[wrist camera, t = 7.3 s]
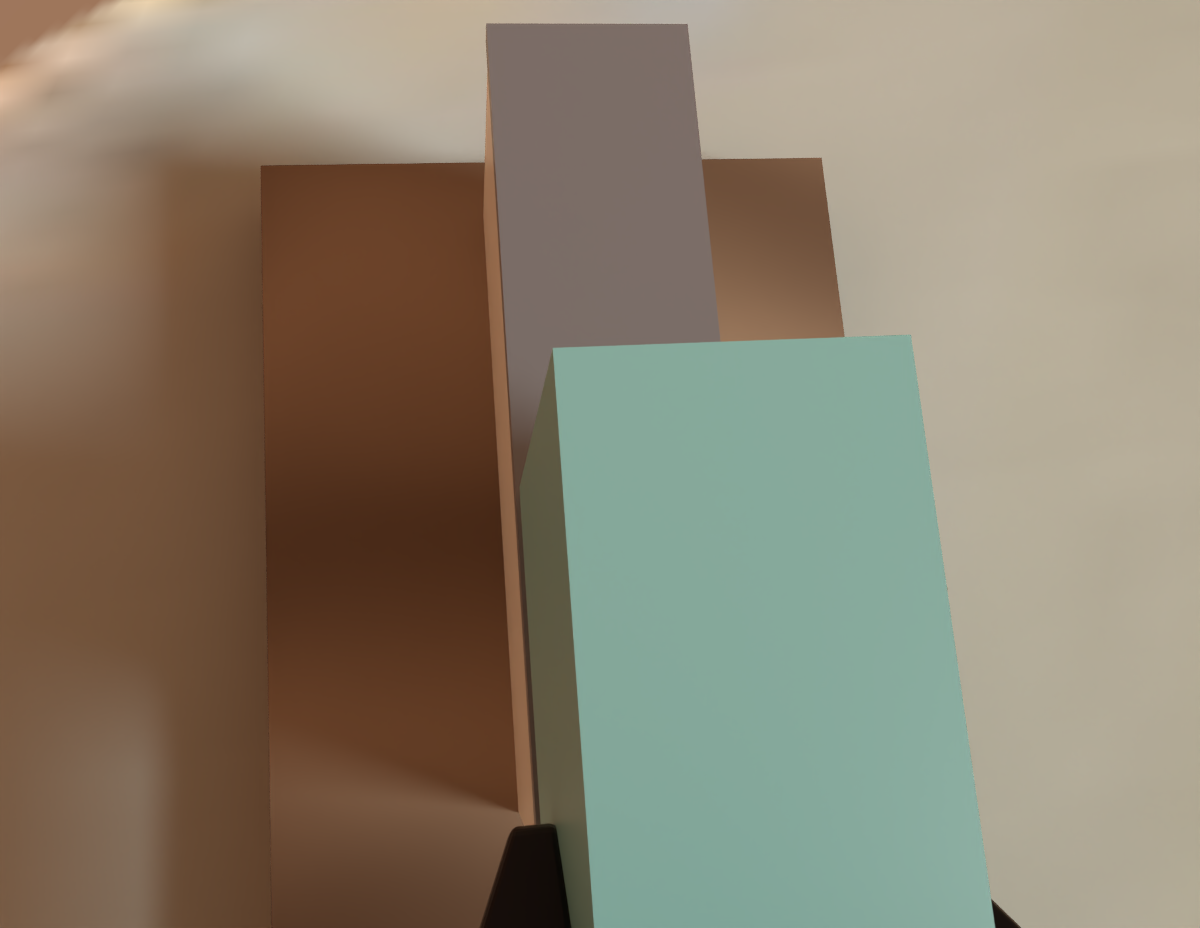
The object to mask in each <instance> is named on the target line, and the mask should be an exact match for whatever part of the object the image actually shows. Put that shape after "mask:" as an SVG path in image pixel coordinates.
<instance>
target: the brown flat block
mask: <svg viewBox="0 0 1200 928" xmlns="http://www.w3.org/2000/svg"><path fill="white" fill-rule="evenodd" d="M702 168H703V178H704V187H705V197H706V206H707V216H708V225H709V235H710V245H711V254H712V264H713V273H714V283H715V292H716V302H717V312H718V321H719V331H720V340H721V342H727V341H754V340H781V339H809V338H836V337H844V329H843V322H842V314H841V306H840V298H839V291H838V283H837V275H836V267H835V260H834V252H833V244H832V236H831V229H830V221H829V213H828V205H827V198H826V190H825V182H824V174H823V167H822V159H821V158H781V159H708V160H702ZM484 173H485V163H419V164H347V165H274V166H261V214H262V285H263V355H264V425H265V495H266V565H267V635H268V705H269V775H270V845H271V916H272V928H479V927H480V924H481V921H482V918H483V915H484V912H485V908H486V905H487V902H488V899H489V896H490V893H491V889H492V886H493V883H494V880H495V877H496V874H497V870H498V867H499V864H500V861H501V858H502V855H503V851H504V848H505V845H506V842H507V839H508V836H509V834H510V832H511V831H512V829H514V828H515V827H517V826H524V824H523V822H522V819H521V817H520V815H519V811H518V794H517V777H516V760H515V743H514V726H513V709H512V693H511V676H510V659H509V642H508V625H507V608H506V591H505V574H504V557H503V540H502V524H501V507H500V490H499V473H498V456H497V439H496V422H495V405H494V388H493V371H492V354H491V338H490V321H489V304H488V287H487V270H486V253H485V236H484V219H483V207H484Z"/></svg>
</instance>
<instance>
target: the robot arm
mask: <svg viewBox="0 0 1200 928" xmlns="http://www.w3.org/2000/svg"><path fill="white" fill-rule="evenodd" d="M991 902H992V909H993V916H994V923H995V928H1021V927H1020V926H1019V925H1018V924H1017V923H1016V922H1015V921H1014V920H1013V919H1012V918H1011V917H1010V916H1008V915H1007V914H1006V913H1005V912H1004V911H1003V910H1002V909H1001V908H1000V907H999V906H998V905H997V904H996V903H995V902H994V901H993V900H992V899H991ZM479 928H571V922H570V915H569V908H568V902H567V895H566V888H565V882H564V875H563V868H562V862H561V855H560V848H559V842H558V835H557V829H556V826H555V825H553V824H550V823H546V824H536V825H525V826H517V827H515V828H514V829H512V831H511V832H510V834H509V836H508V839H507V842H506V845H505V848H504V851H503V855H502V858H501V861H500V864H499V867H498V870H497V874H496V877H495V880H494V883H493V886H492V889H491V893H490V896H489V899H488V902H487V905H486V908H485V912H484V915H483V918H482V921H481V924H480V927H479Z"/></svg>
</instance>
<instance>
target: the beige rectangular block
mask: <svg viewBox="0 0 1200 928" xmlns="http://www.w3.org/2000/svg"><path fill="white" fill-rule="evenodd" d="M486 52H487V68H488V69H487V104H486V138H485V173H484V207H483V219H484V236H485V253H486V270H487V287H488V304H489V321H490V338H491V354H492V371H493V388H494V405H495V422H496V439H497V456H498V473H499V490H500V507H501V524H502V540H503V557H504V574H505V591H506V608H507V625H508V642H509V659H510V676H511V693H512V709H513V726H514V743H515V760H516V777H517V794H518V811H519V815H520V817H521V819H522V822H523V824H524V826H525V825H536V824H541V822H540V806H539V790H538V775H537V759H536V743H535V727H534V711H533V695H532V679H531V663H530V648H529V632H528V616H527V600H526V584H525V568H524V552H523V536H522V521H521V505H520V489H519V487H520V483H521V478H522V474H523V470H524V466H525V462H526V458H527V453H528V449H529V445H530V441H531V437H532V433H533V428H534V424H535V420H536V416H537V412H538V407H539V403H540V399H541V395H542V391H543V387H544V382H545V378H546V374H547V370H548V366H549V361H550V357H551V353H552V349H553V348H564V347H591V346H618V345H645V344H673V343H700V342H721V340H720V331H719V321H718V312H717V302H716V292H715V283H714V273H713V264H712V254H711V245H710V235H709V225H708V216H707V206H706V197H705V187H704V178H703V168H702V159H701V149H700V139H699V130H698V120H697V111H696V101H695V92H694V82H693V72H692V63H691V53H690V44H689V34H688V25H687V24H486Z"/></svg>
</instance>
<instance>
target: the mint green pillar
mask: <svg viewBox="0 0 1200 928" xmlns="http://www.w3.org/2000/svg"><path fill="white" fill-rule="evenodd" d="M519 489H520V505H521V521H522V536H523V552H524V568H525V584H526V600H527V616H528V632H529V648H530V663H531V679H532V695H533V711H534V727H535V743H536V759H537V775H538V790H539V806H540V822H541V824H546V823H550V824H553V825H555V826H556V829H557V835H558V842H559V848H560V855H561V862H562V868H563V875H564V882H565V888H566V895H567V902H568V908H569V915H570V922H571V928H995V923H994V916H993V909H992V902H991V895H990V888H989V881H988V874H987V867H986V860H985V853H984V846H983V839H982V832H981V825H980V818H979V811H978V804H977V797H976V790H975V783H974V776H973V769H972V762H971V754H970V747H969V740H968V733H967V726H966V719H965V712H964V705H963V698H962V691H961V684H960V677H959V670H958V663H957V656H956V649H955V642H954V635H953V628H952V621H951V614H950V607H949V600H948V593H947V586H946V579H945V572H944V565H943V558H942V551H941V544H940V537H939V530H938V523H937V516H936V508H935V501H934V494H933V487H932V480H931V473H930V466H929V459H928V452H927V445H926V438H925V431H924V424H923V417H922V410H921V403H920V396H919V389H918V382H917V375H916V368H915V361H914V354H913V347H912V340H911V335H890V336H863V337H836V338H809V339H781V340H754V341H727V342H700V343H673V344H645V345H618V346H591V347H564V348H553V349H552V353H551V357H550V361H549V366H548V370H547V374H546V378H545V382H544V387H543V391H542V395H541V399H540V403H539V407H538V412H537V416H536V420H535V424H534V428H533V433H532V437H531V441H530V445H529V449H528V453H527V458H526V462H525V466H524V470H523V474H522V478H521V483H520V487H519Z"/></svg>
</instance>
